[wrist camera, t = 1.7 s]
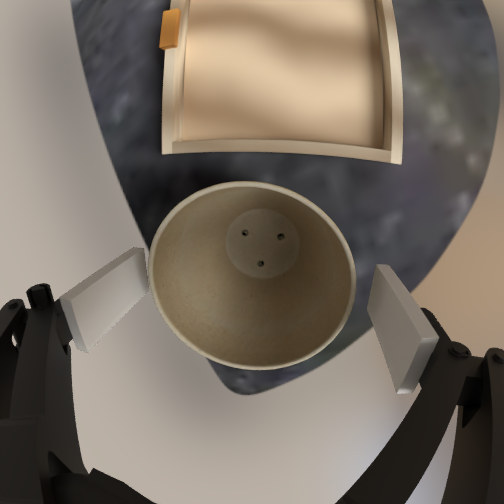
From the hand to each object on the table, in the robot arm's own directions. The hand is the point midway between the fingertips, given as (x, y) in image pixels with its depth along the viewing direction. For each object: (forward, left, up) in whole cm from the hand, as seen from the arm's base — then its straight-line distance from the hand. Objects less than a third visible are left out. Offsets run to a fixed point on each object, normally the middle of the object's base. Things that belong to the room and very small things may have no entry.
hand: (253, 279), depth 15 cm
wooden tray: (-17, +1, -5) cm, 18 cm away
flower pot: (0, 0, -5) cm, 5 cm away
